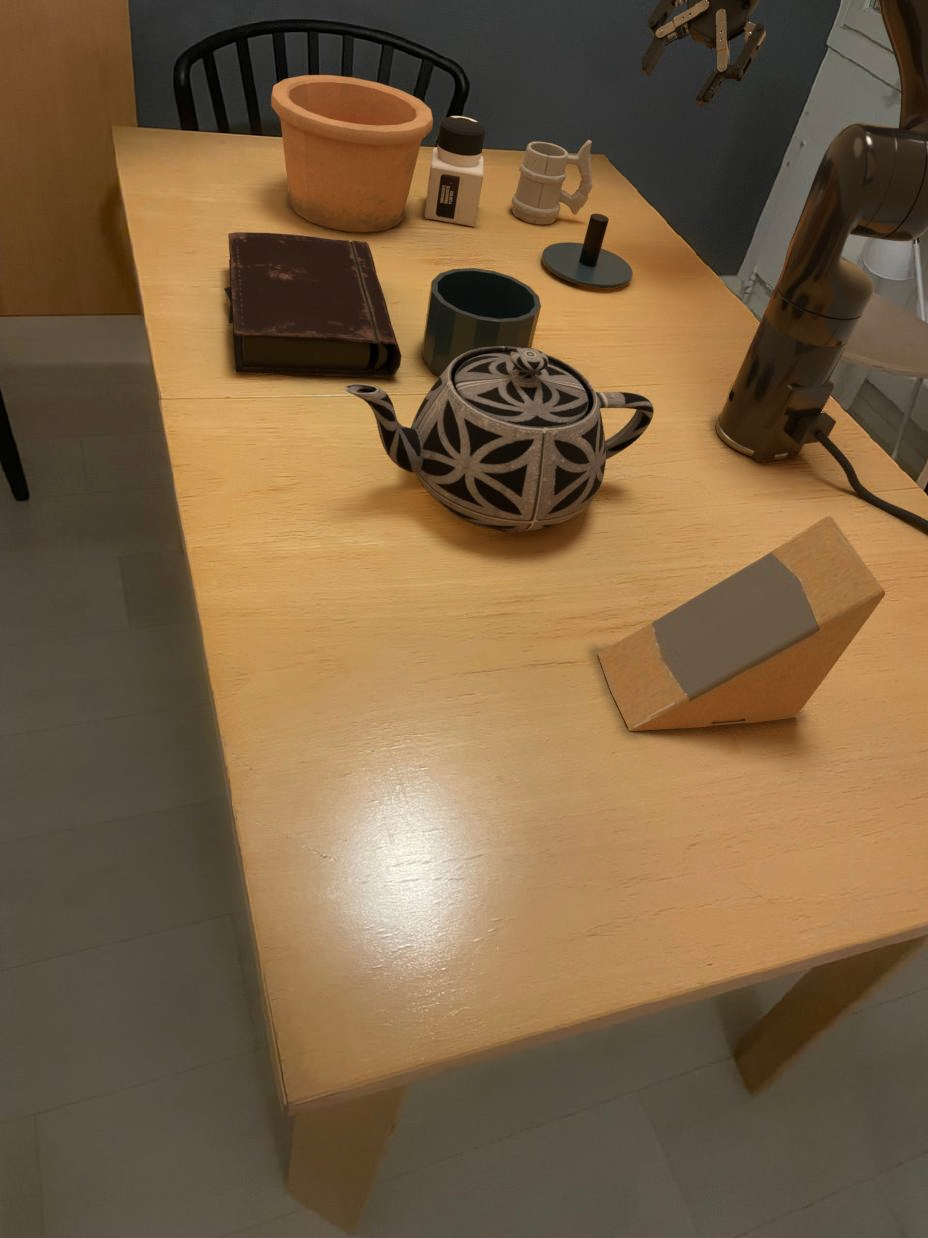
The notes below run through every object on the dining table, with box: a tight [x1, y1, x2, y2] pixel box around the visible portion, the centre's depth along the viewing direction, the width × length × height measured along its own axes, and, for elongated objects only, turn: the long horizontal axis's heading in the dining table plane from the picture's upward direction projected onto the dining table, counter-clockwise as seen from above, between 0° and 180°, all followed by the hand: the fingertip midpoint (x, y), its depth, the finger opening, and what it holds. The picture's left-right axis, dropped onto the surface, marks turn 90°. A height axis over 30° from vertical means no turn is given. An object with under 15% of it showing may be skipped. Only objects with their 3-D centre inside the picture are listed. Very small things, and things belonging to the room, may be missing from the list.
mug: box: [511, 139, 593, 226], centre depth 135 cm, size 8×12×12 cm, turn 92°
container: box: [424, 115, 486, 227], centre depth 130 cm, size 8×8×13 cm
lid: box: [541, 213, 634, 289], centre depth 125 cm, size 13×13×8 cm
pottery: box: [270, 74, 434, 234], centre depth 124 cm, size 22×22×14 cm
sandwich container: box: [597, 515, 886, 732], centre depth 68 cm, size 9×15×15 cm, turn 102°
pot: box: [421, 267, 542, 378], centre depth 101 cm, size 12×12×8 cm
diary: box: [223, 231, 402, 379], centre depth 103 cm, size 19×25×5 cm
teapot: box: [343, 346, 655, 533], centre depth 82 cm, size 19×31×15 cm, turn 106°
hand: (671, 87), depth 113 cm, fingers open, 8 cm apart
